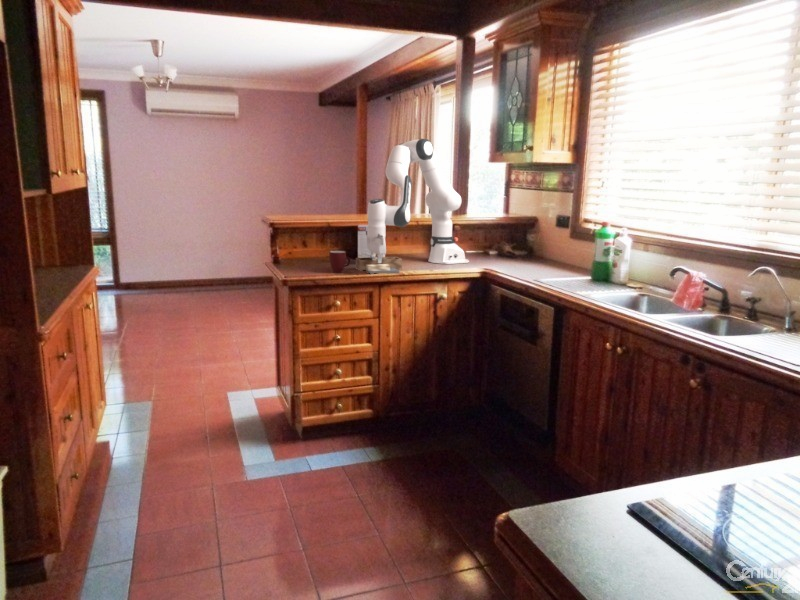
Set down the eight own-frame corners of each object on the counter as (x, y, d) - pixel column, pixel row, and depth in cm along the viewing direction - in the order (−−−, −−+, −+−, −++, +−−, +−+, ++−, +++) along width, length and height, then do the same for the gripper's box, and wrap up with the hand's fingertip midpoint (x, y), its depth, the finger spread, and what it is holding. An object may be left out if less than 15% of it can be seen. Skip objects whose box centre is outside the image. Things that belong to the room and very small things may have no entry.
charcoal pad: (394, 270, 309) (394, 268, 308) (399, 273, 302) (399, 270, 301) (365, 271, 304) (365, 269, 304) (369, 274, 297) (369, 271, 297)
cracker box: (385, 263, 330) (385, 224, 326) (383, 265, 324) (384, 225, 320) (359, 262, 331) (359, 223, 327) (357, 264, 325) (357, 224, 321)
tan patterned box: (396, 267, 319) (397, 256, 318) (401, 269, 311) (402, 258, 310) (355, 268, 312) (355, 257, 311) (359, 271, 305) (359, 260, 303)
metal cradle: (394, 265, 317) (395, 262, 317) (398, 267, 312) (399, 263, 312) (360, 253, 310) (361, 249, 310) (363, 255, 305) (364, 251, 304)
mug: (344, 269, 308) (344, 250, 306) (353, 272, 301) (353, 251, 299) (326, 271, 301) (326, 251, 299) (335, 274, 295) (335, 253, 293)
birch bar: (387, 269, 305) (387, 264, 305) (390, 270, 301) (390, 265, 301) (366, 269, 302) (366, 264, 301) (368, 271, 298) (368, 266, 297)
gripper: (389, 235, 289) (389, 264, 292) (376, 230, 308) (376, 258, 311) (376, 235, 287) (376, 265, 290) (364, 231, 306) (364, 258, 309)
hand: (376, 261), depth 300 cm, fingers open, 8 cm apart
